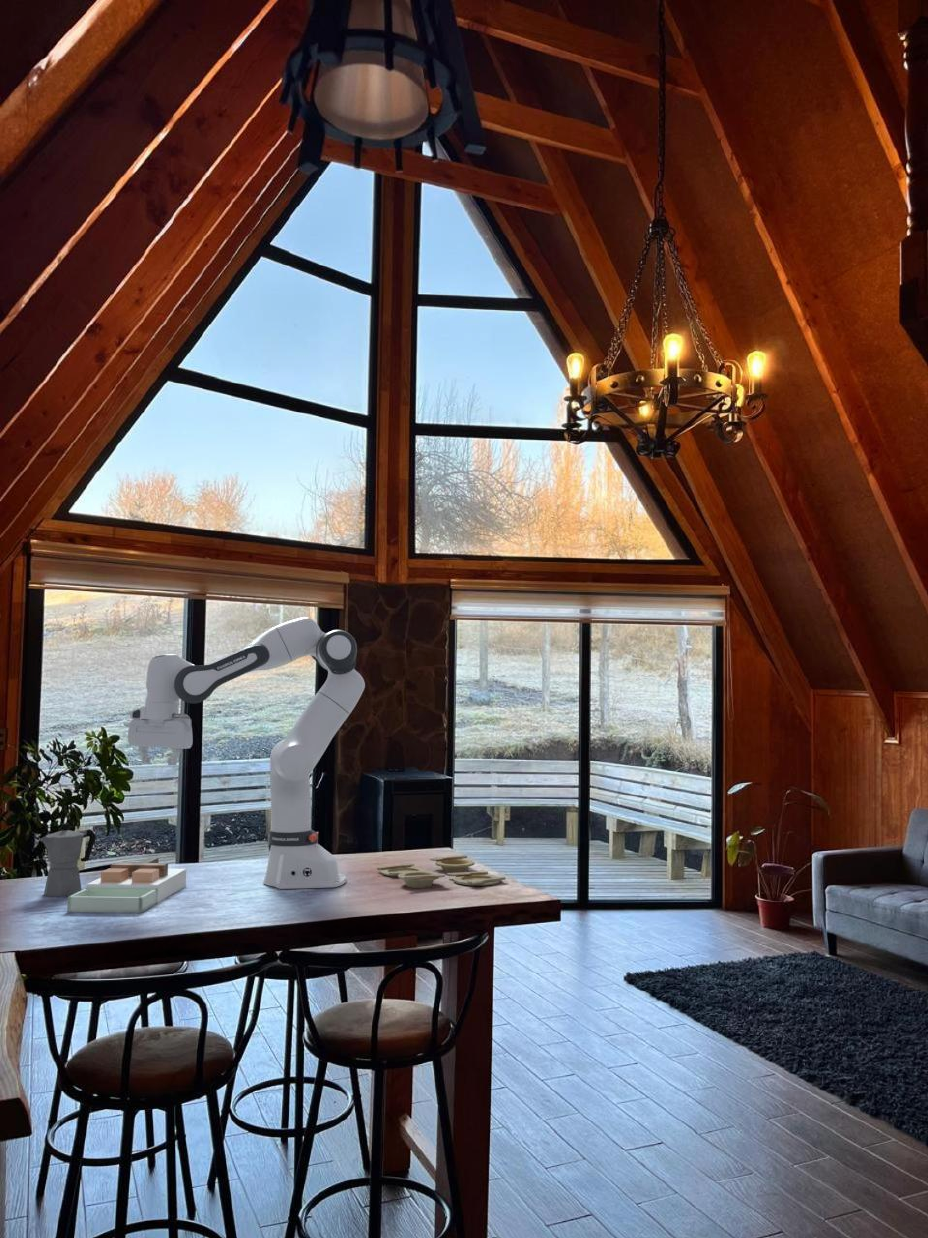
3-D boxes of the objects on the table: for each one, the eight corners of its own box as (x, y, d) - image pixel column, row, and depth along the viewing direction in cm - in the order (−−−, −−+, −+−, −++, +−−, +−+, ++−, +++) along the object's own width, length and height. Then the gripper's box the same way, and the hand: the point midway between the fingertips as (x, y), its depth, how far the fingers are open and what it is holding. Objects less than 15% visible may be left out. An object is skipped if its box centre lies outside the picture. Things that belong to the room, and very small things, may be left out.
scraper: (178, 869, 250) (178, 857, 251) (163, 877, 239) (163, 865, 240) (127, 868, 251) (127, 857, 251) (110, 876, 240) (110, 864, 240)
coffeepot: (48, 900, 233) (51, 827, 234) (28, 895, 238) (31, 824, 240) (104, 890, 245) (106, 821, 246) (83, 885, 251) (86, 818, 252)
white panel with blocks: (185, 885, 250) (186, 869, 251) (157, 903, 230) (157, 885, 230) (120, 885, 251) (120, 868, 252) (85, 902, 230) (86, 884, 231)
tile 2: (128, 878, 238) (128, 868, 238) (120, 882, 233) (120, 872, 233) (108, 878, 238) (109, 868, 238) (100, 882, 233) (100, 872, 233)
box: (157, 903, 230) (157, 889, 230) (141, 913, 220) (142, 898, 220) (85, 902, 230) (86, 888, 231) (67, 912, 220) (67, 897, 221)
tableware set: (511, 887, 252) (511, 872, 252) (409, 895, 241) (409, 880, 241) (464, 865, 284) (464, 851, 285) (372, 871, 273) (372, 857, 274)
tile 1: (158, 878, 237) (159, 868, 238) (151, 882, 233) (151, 872, 233) (139, 878, 238) (139, 868, 238) (131, 882, 233) (132, 872, 233)
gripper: (199, 714, 251) (196, 765, 250) (142, 712, 260) (139, 761, 259) (182, 714, 246) (180, 767, 244) (125, 712, 254) (122, 763, 253)
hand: (158, 764), depth 252 cm, fingers open, 8 cm apart
